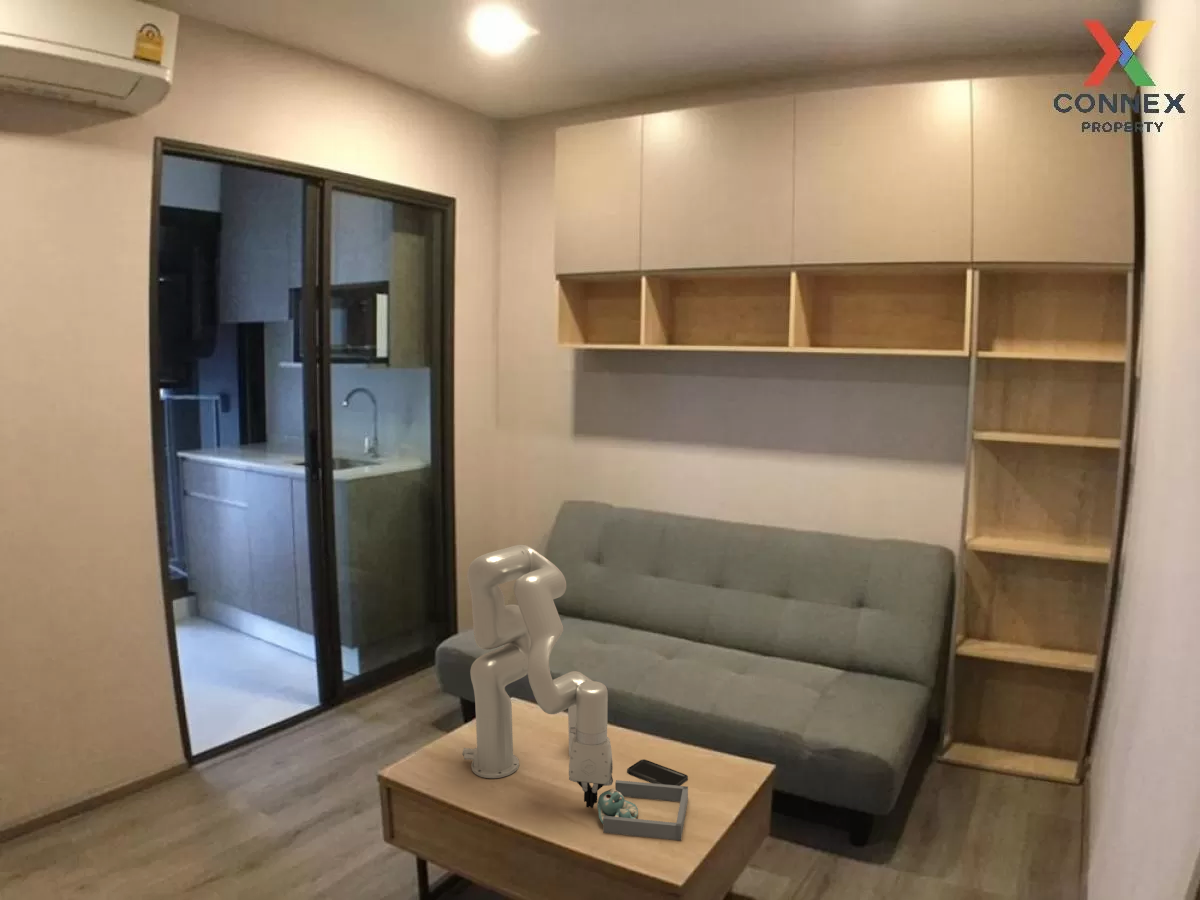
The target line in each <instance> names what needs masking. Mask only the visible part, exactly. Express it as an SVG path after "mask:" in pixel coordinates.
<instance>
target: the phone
mask: <svg viewBox="0 0 1200 900" xmlns="http://www.w3.org/2000/svg"><path fill="white" fill-rule="evenodd" d="M626 773H627V774H628V775H630V776H632V777H635V778H637V779H640V780H643V781H646V782H647V783H654V784H665V785H676V786H683V785H684V783H686V782H687V781H688V780H689V776H688V775H687V774H685V773H684V772H683V773H682V772H680V771H677V770H674V769H671V768H669V767H667V766H663V765H661V764H658V763H657V762H653V761H651V760H647V759H645V758H644V759H639V760H638V761H637V762H635V763H634V764H632V765H631V766H629V767H628V768H626Z"/></svg>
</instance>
